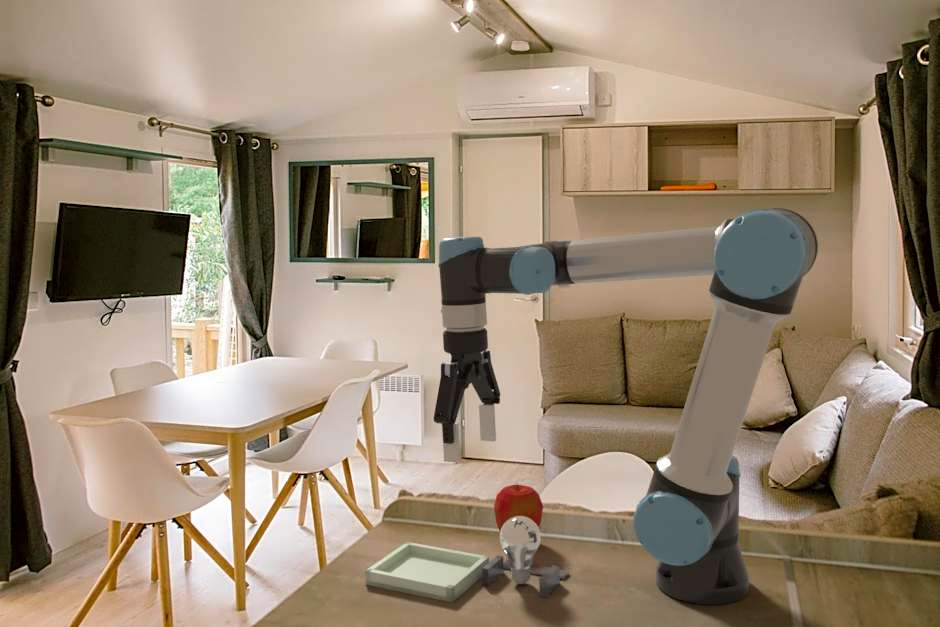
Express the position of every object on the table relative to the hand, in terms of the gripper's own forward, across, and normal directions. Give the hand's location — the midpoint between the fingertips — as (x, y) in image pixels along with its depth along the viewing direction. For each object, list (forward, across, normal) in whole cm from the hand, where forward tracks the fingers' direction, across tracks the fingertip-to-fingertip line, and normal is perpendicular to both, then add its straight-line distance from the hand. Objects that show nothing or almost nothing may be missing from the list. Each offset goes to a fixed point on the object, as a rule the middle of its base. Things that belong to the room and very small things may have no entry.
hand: (471, 450), depth 152 cm
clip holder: (+23, -3, +8) cm, 24 cm away
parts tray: (+22, +3, -8) cm, 24 cm away
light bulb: (+23, -1, +8) cm, 24 cm away
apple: (+23, -17, 0) cm, 29 cm away
